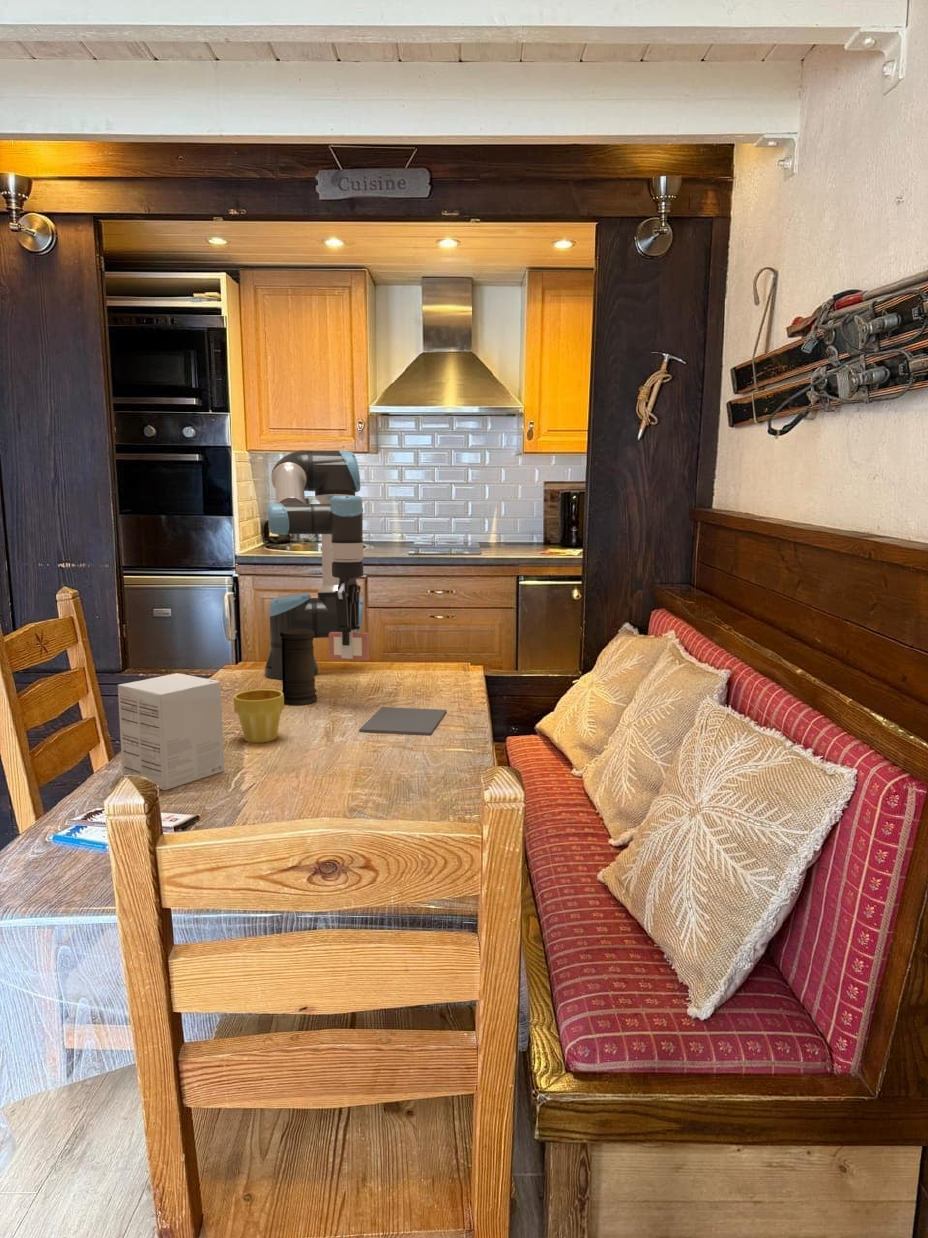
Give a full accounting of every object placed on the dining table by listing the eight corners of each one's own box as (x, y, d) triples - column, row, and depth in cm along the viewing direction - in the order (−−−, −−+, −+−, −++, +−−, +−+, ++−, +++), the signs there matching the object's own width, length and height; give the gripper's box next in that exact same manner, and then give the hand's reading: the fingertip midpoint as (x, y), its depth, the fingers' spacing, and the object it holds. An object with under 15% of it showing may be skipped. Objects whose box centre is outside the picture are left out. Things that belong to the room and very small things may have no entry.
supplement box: (181, 759, 165) (177, 672, 162) (225, 771, 157) (222, 680, 155) (120, 777, 154) (115, 684, 151) (164, 791, 146) (159, 694, 144)
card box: (332, 658, 205) (331, 631, 204) (369, 659, 204) (369, 632, 203) (329, 659, 203) (328, 633, 202) (366, 660, 202) (366, 634, 201)
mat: (381, 709, 204) (381, 707, 203) (446, 712, 201) (446, 709, 201) (359, 731, 184) (359, 729, 184) (430, 735, 182) (430, 732, 181)
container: (321, 697, 215) (319, 628, 213) (311, 706, 206) (309, 634, 204) (287, 696, 216) (285, 628, 214) (276, 705, 207) (273, 633, 205)
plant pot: (229, 745, 173) (227, 699, 172) (242, 732, 184) (241, 688, 182) (278, 746, 173) (277, 700, 172) (289, 732, 184) (288, 688, 182)
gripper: (342, 558, 208) (343, 651, 211) (322, 562, 193) (324, 662, 197) (371, 558, 207) (372, 652, 210) (353, 563, 192) (354, 663, 195)
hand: (349, 656), depth 203 cm, fingers closed on card box, 2 cm apart
